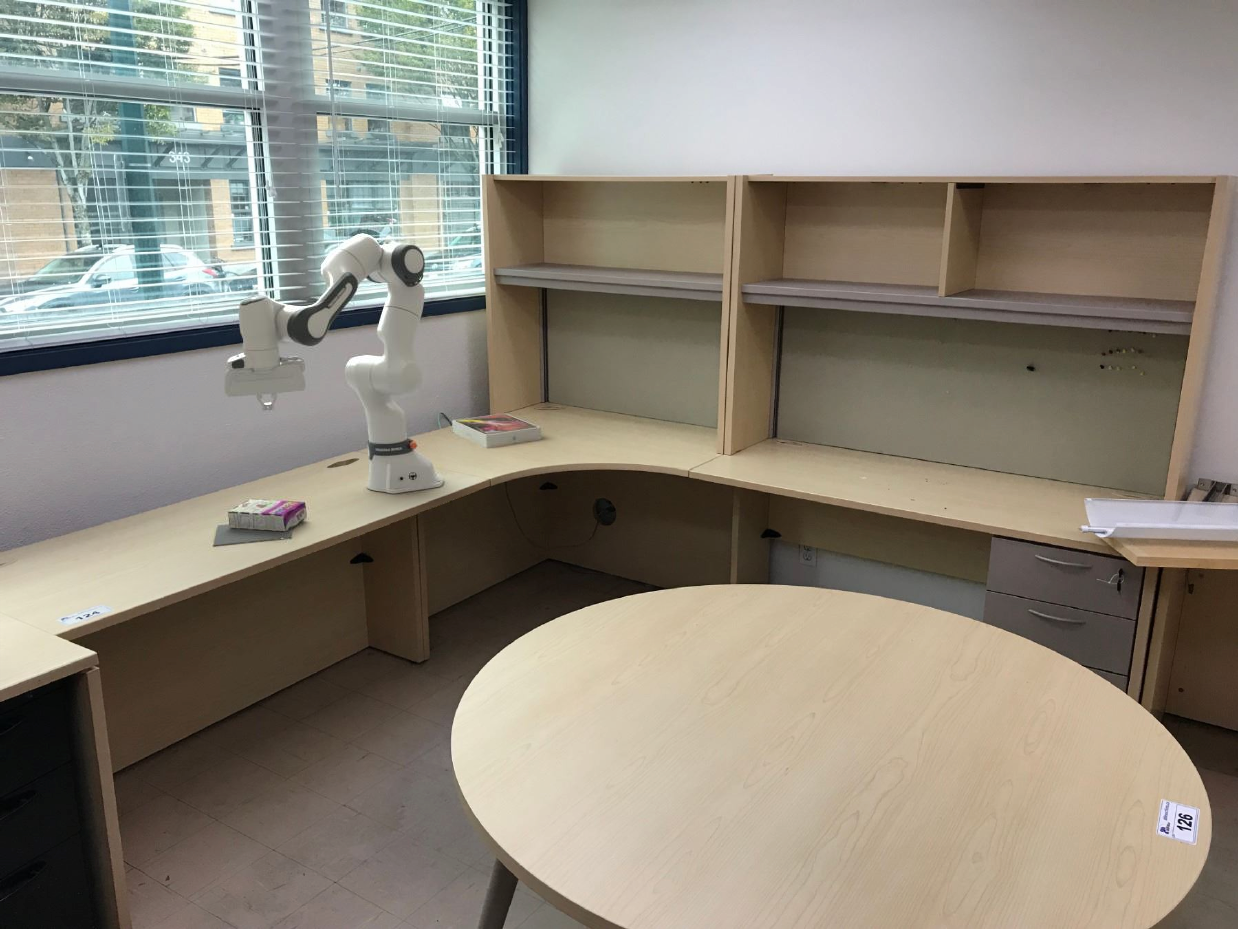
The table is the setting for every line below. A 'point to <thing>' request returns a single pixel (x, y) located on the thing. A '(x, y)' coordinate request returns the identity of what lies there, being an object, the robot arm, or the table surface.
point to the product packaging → (496, 430)
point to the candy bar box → (267, 515)
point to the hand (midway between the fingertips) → (268, 410)
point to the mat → (245, 535)
